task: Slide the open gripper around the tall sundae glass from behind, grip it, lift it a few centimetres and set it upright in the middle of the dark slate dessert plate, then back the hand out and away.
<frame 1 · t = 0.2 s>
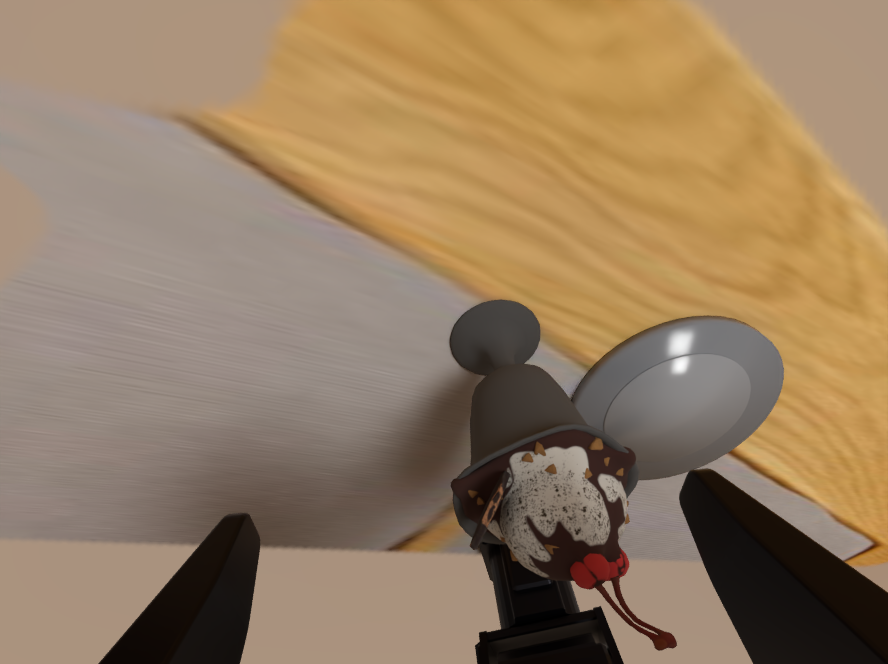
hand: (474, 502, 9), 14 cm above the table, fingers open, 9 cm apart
slate plate: (669, 403, 28), on the table
sundae: (495, 335, 24), on the table
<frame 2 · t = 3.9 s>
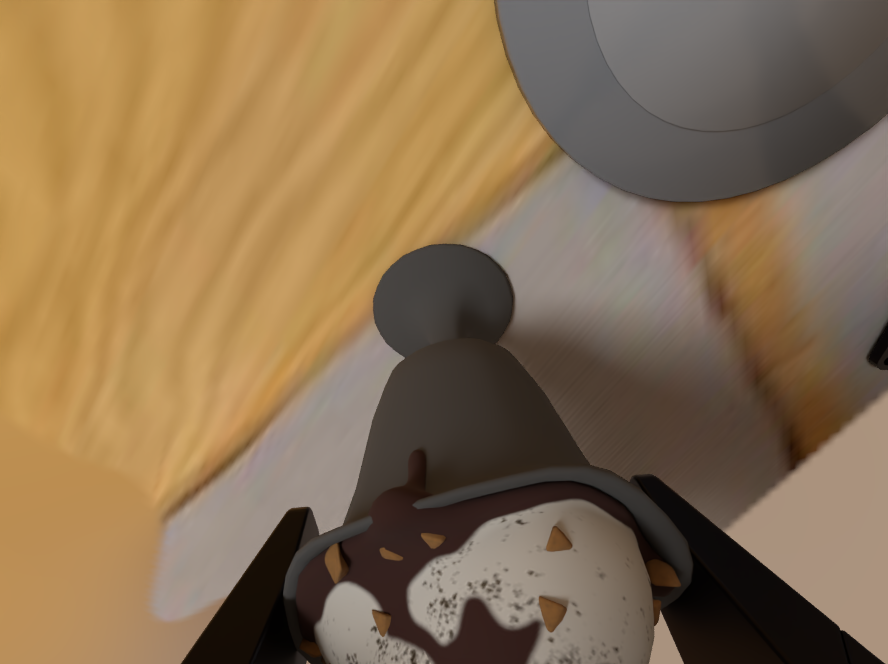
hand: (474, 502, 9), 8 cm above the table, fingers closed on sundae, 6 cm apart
sundae: (442, 304, 16), on the table, touching gripper
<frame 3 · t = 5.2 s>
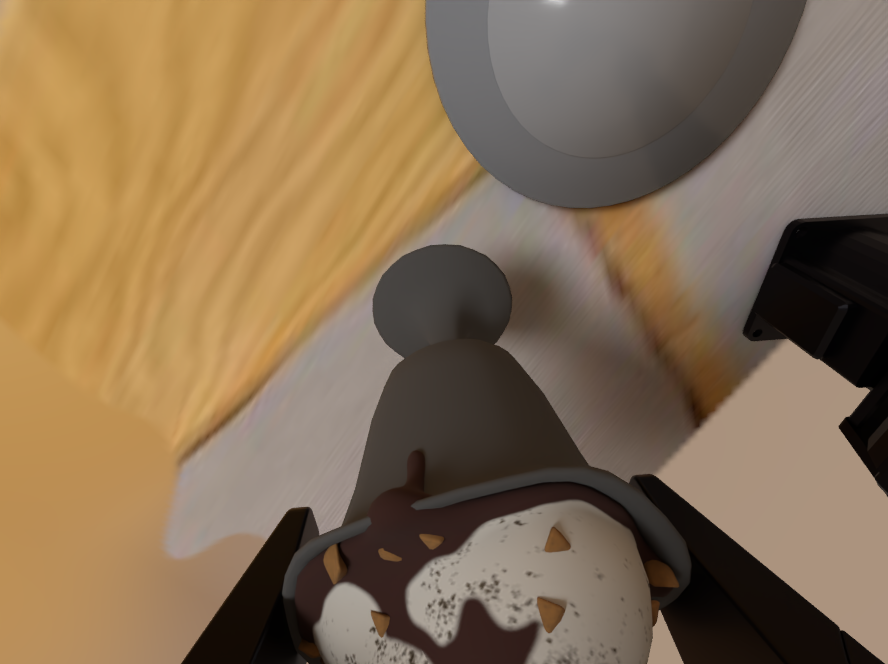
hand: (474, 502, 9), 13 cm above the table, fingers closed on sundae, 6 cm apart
slate plate: (610, 17, 15), on the table
sundae: (441, 304, 16), point 5 cm above the table, touching gripper
when the fingers open (10 cm above the table, at t = 7.1 s): sundae drops 1 cm, resting on slate plate.
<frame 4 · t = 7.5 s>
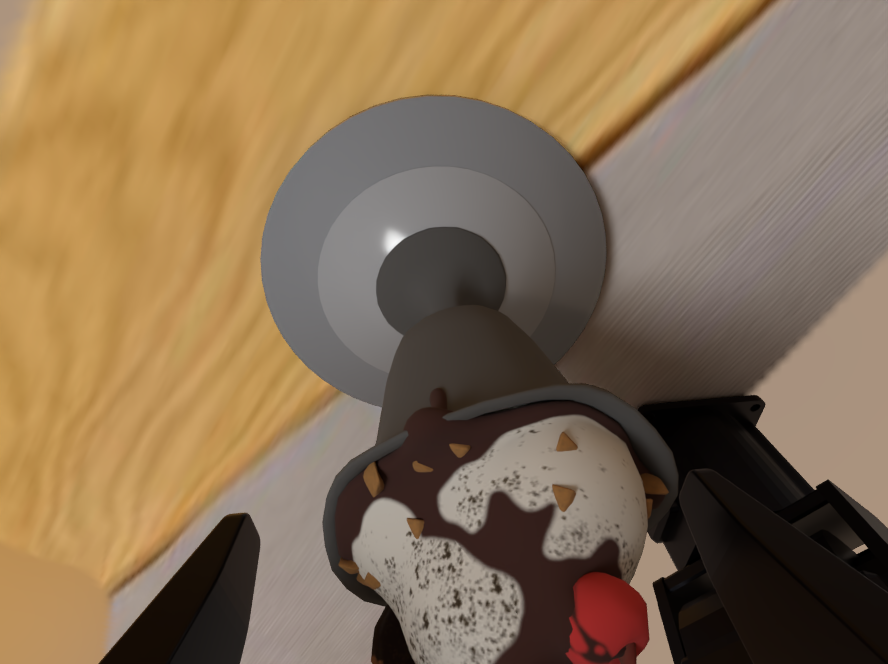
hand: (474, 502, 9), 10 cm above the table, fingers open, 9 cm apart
slate plate: (437, 278, 18), on the table
sundae: (440, 285, 17), point 1 cm above the table, touching slate plate
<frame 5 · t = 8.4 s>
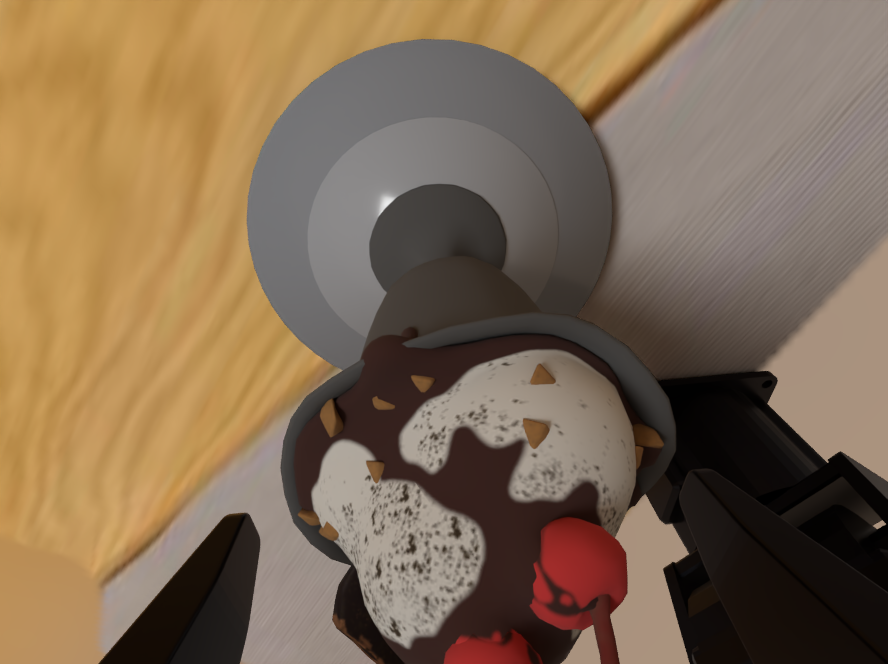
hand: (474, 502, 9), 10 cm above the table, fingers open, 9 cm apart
slate plate: (433, 244, 17), on the table
sundae: (437, 249, 16), point 1 cm above the table, touching slate plate
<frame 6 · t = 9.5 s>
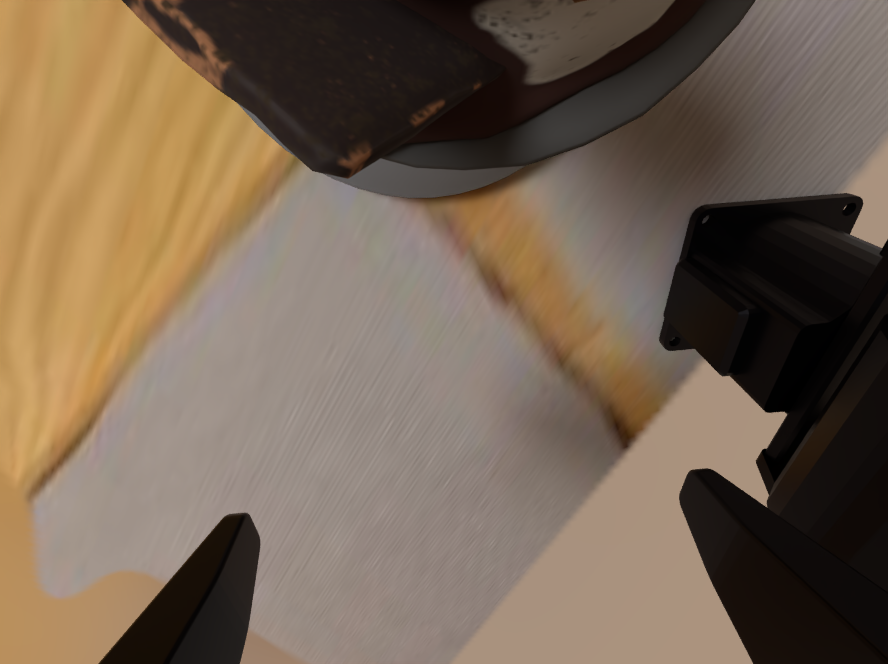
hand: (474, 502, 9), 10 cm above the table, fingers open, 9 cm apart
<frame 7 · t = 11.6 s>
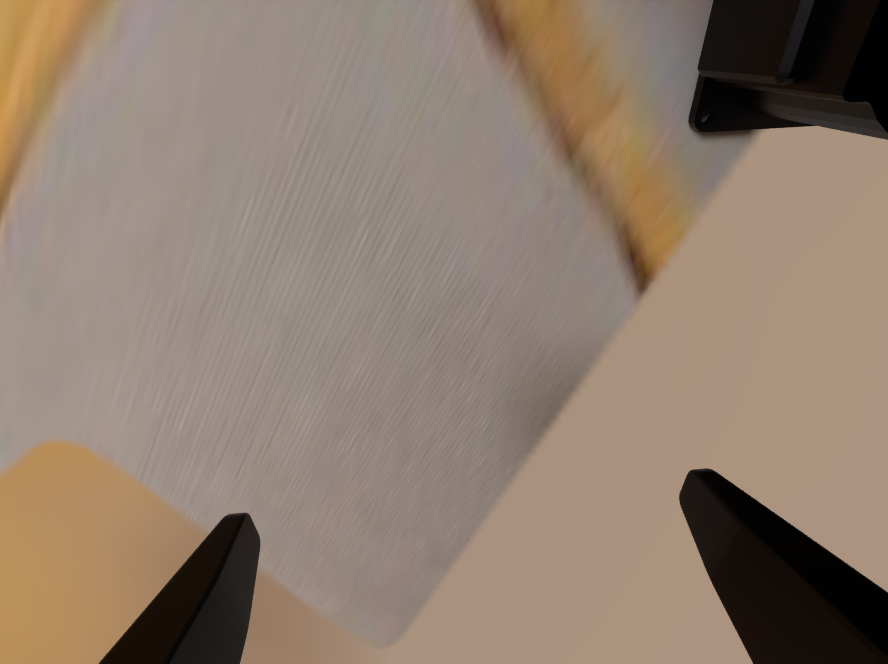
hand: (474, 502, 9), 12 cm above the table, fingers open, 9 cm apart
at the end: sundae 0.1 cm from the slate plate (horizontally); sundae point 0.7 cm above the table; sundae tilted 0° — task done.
